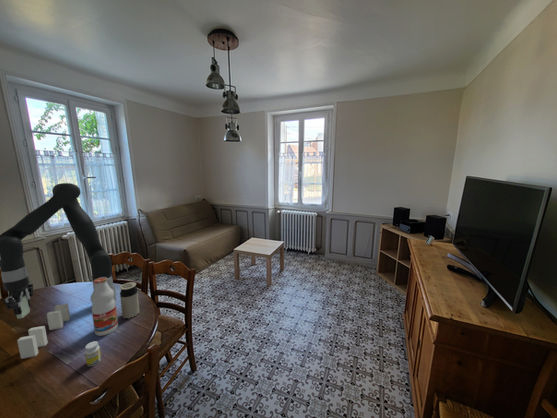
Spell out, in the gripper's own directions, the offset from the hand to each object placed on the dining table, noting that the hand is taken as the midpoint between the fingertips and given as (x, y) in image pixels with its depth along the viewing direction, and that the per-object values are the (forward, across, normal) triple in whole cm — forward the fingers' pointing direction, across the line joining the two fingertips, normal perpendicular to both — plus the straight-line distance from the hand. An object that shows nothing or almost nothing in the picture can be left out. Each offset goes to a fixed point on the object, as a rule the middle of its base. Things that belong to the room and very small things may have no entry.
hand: (23, 310), depth 102 cm
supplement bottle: (+15, -26, -36) cm, 47 cm away
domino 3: (+15, -8, -8) cm, 19 cm away
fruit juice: (+15, -5, -34) cm, 37 cm away
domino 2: (+14, -14, -8) cm, 22 cm away
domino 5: (+15, +10, -9) cm, 20 cm away
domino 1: (+2, 0, 0) cm, 2 cm away
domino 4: (+15, +4, -8) cm, 17 cm away
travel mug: (+15, +5, -42) cm, 44 cm away
